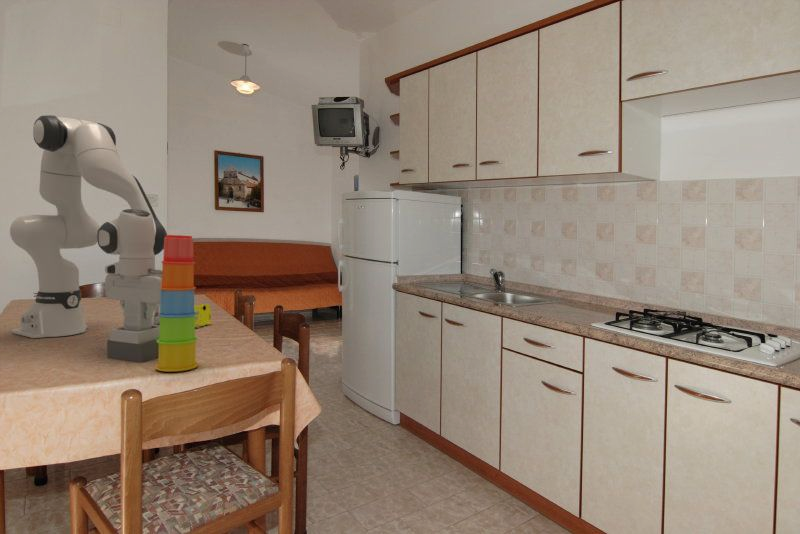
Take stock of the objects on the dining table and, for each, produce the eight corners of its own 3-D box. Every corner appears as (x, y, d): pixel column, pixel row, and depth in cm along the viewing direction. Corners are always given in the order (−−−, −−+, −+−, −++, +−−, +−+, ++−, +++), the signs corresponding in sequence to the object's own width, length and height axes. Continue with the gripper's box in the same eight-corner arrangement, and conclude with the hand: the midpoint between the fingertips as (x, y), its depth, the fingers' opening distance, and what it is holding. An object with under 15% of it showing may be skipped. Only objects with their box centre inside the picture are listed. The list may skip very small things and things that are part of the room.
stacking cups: (148, 367, 131) (146, 234, 128) (187, 360, 139) (186, 234, 136) (166, 376, 124) (164, 235, 122) (205, 367, 132) (204, 235, 129)
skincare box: (151, 334, 143) (153, 292, 142) (139, 337, 138) (140, 293, 138) (135, 332, 144) (136, 291, 144) (122, 335, 140) (123, 292, 140)
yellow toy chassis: (178, 333, 172) (177, 309, 172) (165, 332, 174) (165, 308, 174) (212, 325, 187) (211, 303, 186) (200, 324, 189) (199, 302, 189)
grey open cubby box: (107, 360, 139) (106, 329, 139) (137, 352, 149) (136, 323, 148) (141, 365, 136) (140, 333, 135) (169, 356, 145) (169, 326, 144)
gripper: (175, 269, 140) (176, 318, 141) (119, 265, 146) (120, 312, 148) (158, 271, 134) (158, 322, 135) (100, 267, 140) (101, 316, 142)
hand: (138, 317), depth 141 cm, fingers closed on skincare box, 6 cm apart
